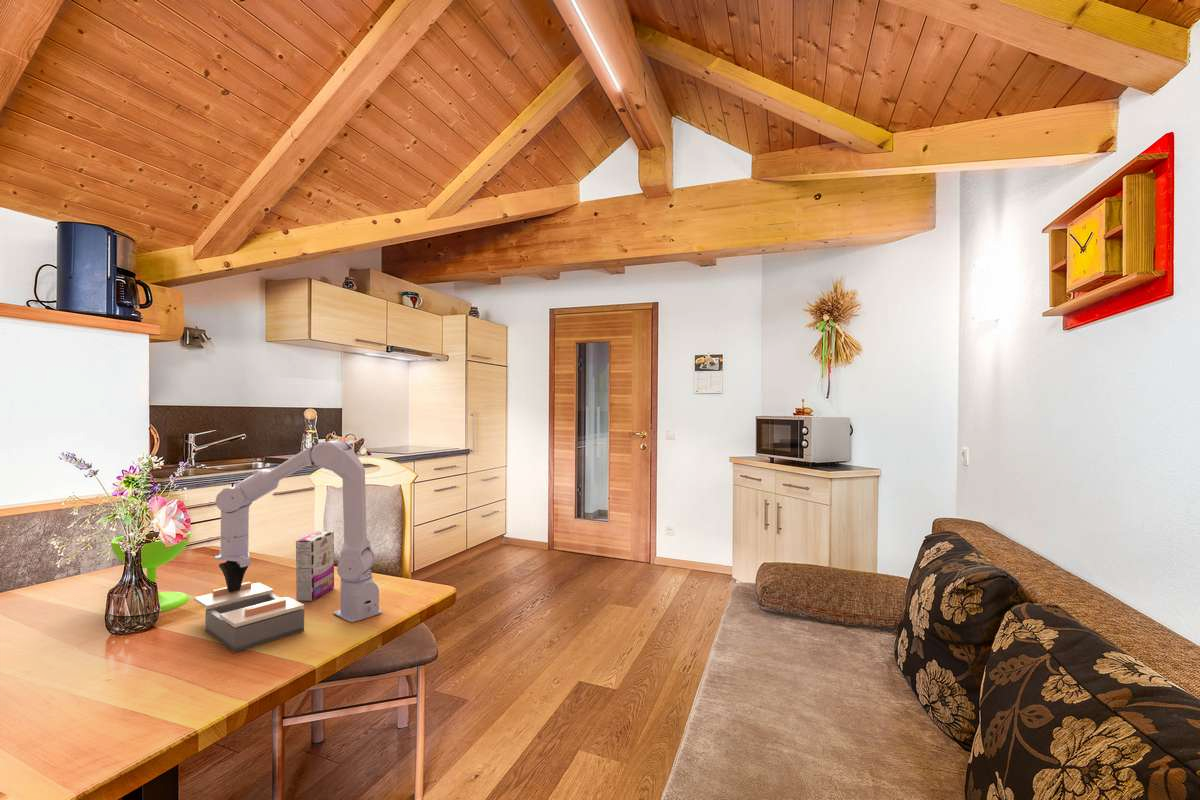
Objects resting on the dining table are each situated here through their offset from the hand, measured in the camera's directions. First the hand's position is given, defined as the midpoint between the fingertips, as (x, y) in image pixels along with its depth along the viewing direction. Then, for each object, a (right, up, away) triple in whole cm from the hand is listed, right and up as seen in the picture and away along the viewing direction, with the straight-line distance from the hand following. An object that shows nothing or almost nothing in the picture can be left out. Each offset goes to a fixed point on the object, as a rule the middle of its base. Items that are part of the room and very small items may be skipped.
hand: (234, 591), depth 132 cm
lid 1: (0, -1, 0) cm, 1 cm away
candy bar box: (+11, -7, +17) cm, 21 cm away
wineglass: (-28, -7, +9) cm, 30 cm away
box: (+10, -7, -8) cm, 14 cm away
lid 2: (+14, -1, -11) cm, 17 cm away
